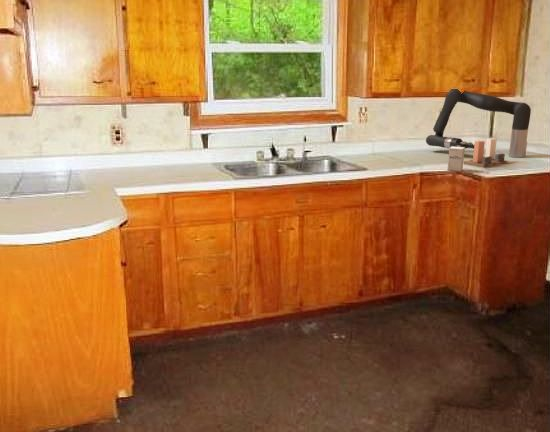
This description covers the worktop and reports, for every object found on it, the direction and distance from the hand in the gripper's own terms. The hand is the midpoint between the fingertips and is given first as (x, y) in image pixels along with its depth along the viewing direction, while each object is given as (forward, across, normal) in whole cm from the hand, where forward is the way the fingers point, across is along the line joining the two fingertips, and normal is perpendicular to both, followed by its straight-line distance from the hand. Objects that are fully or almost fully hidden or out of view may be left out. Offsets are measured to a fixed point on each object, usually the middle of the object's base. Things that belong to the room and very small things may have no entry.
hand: (475, 147), depth 327 cm
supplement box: (+16, -36, +8) cm, 40 cm away
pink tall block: (+13, -14, +6) cm, 20 cm away
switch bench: (+14, -7, +8) cm, 17 cm away
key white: (+11, 0, +6) cm, 12 cm away
